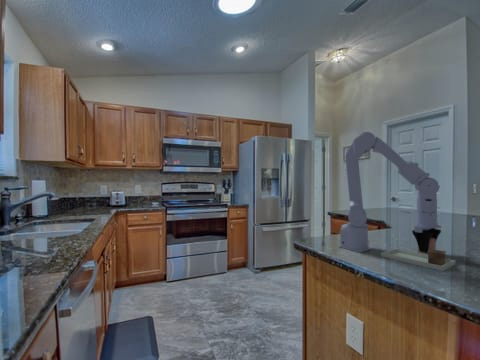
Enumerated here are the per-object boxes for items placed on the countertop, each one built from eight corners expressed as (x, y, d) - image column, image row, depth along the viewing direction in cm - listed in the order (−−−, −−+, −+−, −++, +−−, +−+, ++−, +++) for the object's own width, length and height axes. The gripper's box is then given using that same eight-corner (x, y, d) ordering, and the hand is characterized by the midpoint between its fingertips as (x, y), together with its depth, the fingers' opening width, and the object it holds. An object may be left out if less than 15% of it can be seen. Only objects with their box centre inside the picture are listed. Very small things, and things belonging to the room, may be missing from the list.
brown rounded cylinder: (415, 254, 91) (415, 237, 91) (421, 252, 94) (421, 235, 94) (432, 258, 87) (432, 240, 87) (438, 255, 90) (438, 238, 90)
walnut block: (428, 264, 78) (428, 251, 78) (429, 261, 81) (429, 249, 81) (444, 267, 76) (445, 254, 76) (445, 264, 79) (445, 251, 79)
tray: (380, 258, 87) (380, 252, 87) (395, 253, 93) (395, 248, 93) (443, 273, 73) (443, 266, 73) (455, 266, 79) (455, 260, 79)
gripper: (432, 214, 83) (432, 257, 83) (448, 211, 91) (448, 249, 91) (407, 212, 88) (407, 252, 89) (425, 209, 97) (425, 245, 97)
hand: (426, 250), depth 90 cm, fingers closed on brown rounded cylinder, 5 cm apart
